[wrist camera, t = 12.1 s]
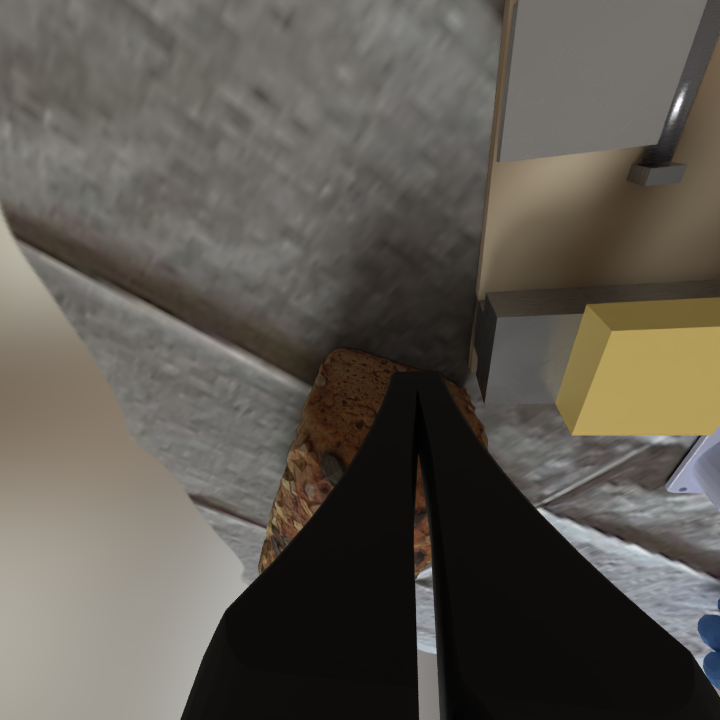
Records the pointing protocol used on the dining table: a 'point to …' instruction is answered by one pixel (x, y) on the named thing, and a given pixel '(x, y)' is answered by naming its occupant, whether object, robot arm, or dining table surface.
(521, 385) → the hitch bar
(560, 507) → the dining table surface
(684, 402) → the pale yellow block
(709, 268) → the base board
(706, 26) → the plate
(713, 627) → the grapes
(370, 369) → the bread
